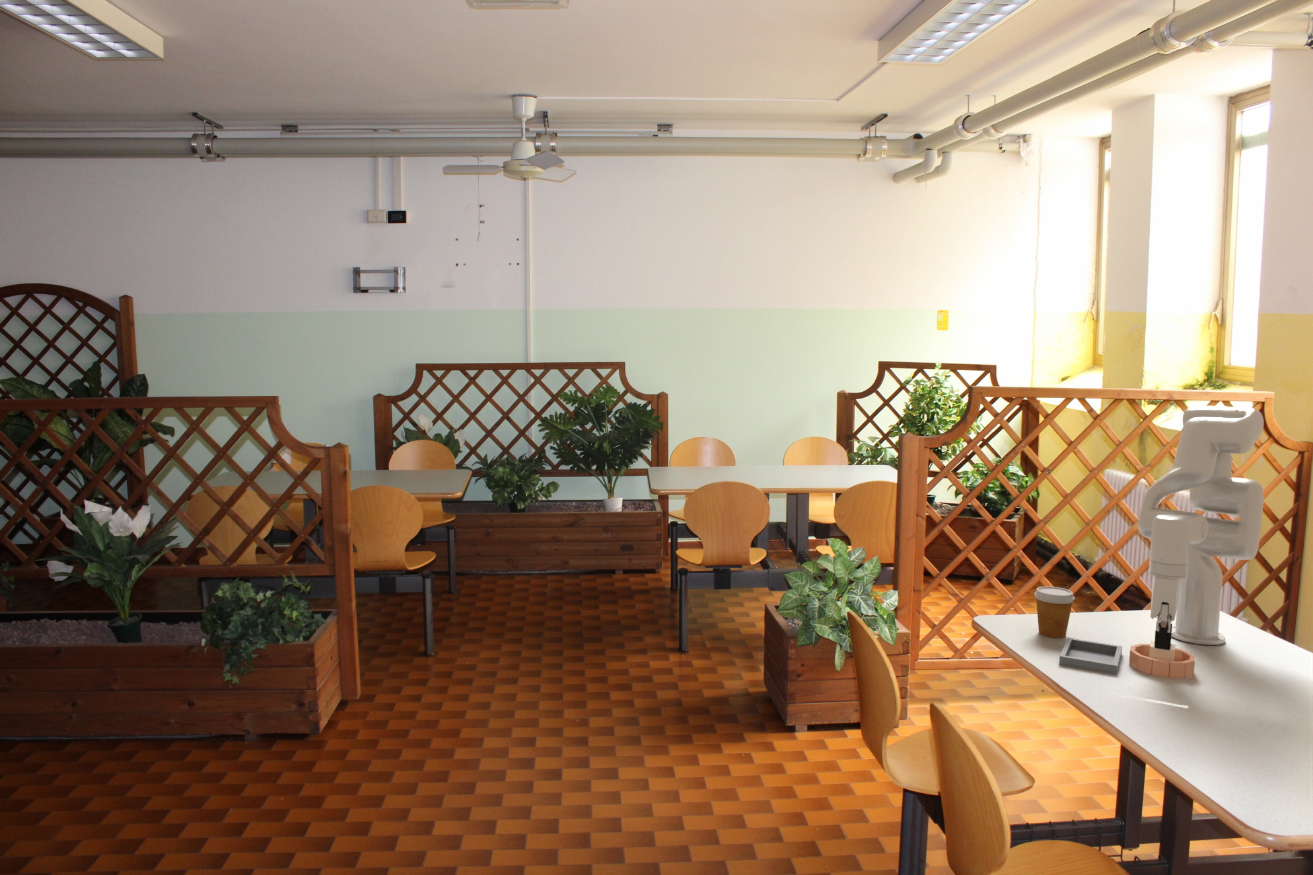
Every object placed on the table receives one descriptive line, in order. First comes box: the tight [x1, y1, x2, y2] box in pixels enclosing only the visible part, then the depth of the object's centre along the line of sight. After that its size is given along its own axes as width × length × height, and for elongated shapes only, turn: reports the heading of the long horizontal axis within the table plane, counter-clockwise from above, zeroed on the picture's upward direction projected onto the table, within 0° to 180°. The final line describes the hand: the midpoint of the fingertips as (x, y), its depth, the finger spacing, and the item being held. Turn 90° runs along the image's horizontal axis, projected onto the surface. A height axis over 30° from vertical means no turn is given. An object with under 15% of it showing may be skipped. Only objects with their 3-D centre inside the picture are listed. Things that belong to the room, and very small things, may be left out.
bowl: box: [1128, 643, 1196, 680], centre depth 207 cm, size 13×13×4 cm
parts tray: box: [1058, 637, 1123, 675], centre depth 212 cm, size 16×12×2 cm
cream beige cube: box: [1149, 640, 1176, 661], centre depth 207 cm, size 5×5×5 cm
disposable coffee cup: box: [1034, 586, 1076, 639], centre depth 230 cm, size 10×10×12 cm
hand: (1162, 643), depth 206 cm, fingers open, 7 cm apart
